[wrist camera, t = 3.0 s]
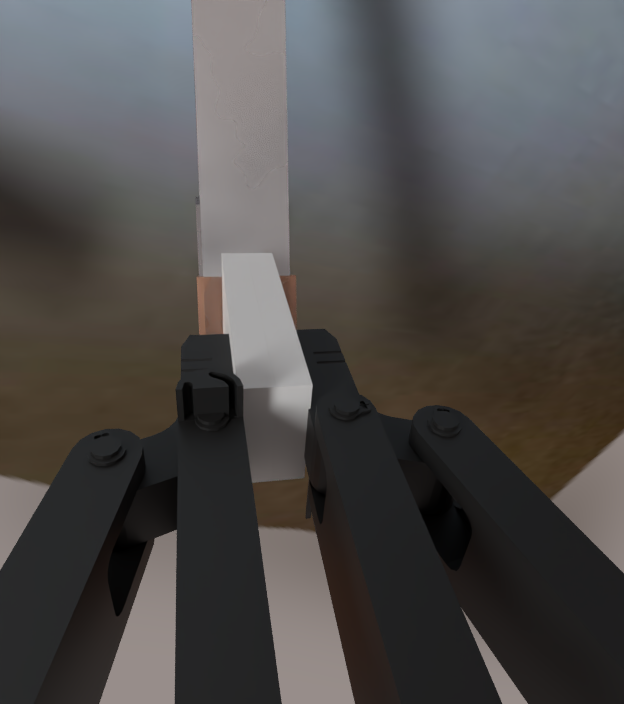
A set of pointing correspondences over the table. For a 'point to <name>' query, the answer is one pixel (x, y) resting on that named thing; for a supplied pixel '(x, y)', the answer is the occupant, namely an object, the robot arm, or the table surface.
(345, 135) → the table surface
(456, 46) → the table surface
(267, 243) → the bar
